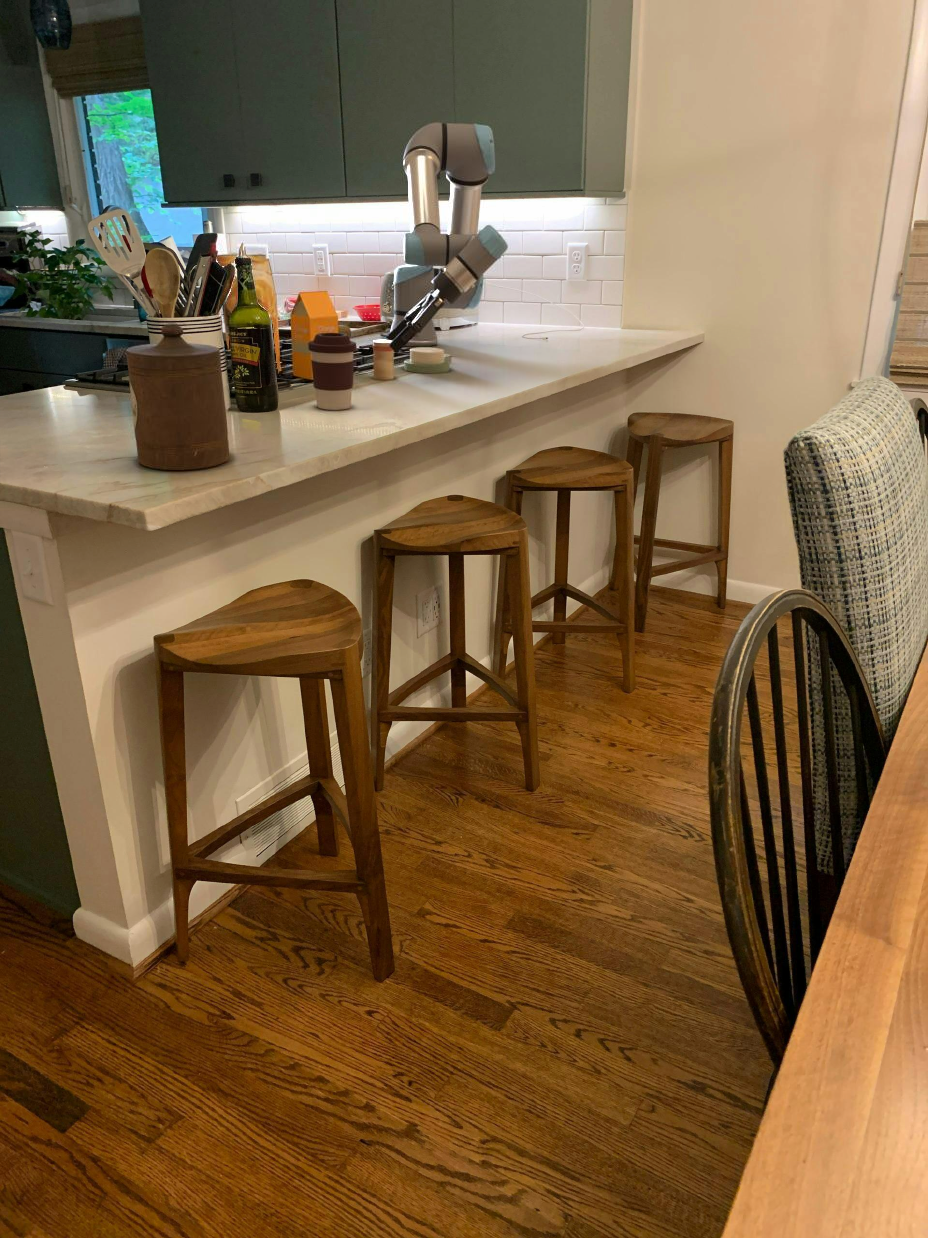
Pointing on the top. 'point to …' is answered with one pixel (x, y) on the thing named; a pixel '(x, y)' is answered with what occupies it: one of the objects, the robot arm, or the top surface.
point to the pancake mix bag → (263, 292)
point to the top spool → (383, 360)
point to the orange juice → (310, 327)
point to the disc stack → (426, 361)
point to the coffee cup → (332, 369)
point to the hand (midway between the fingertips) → (391, 345)
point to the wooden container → (178, 403)
